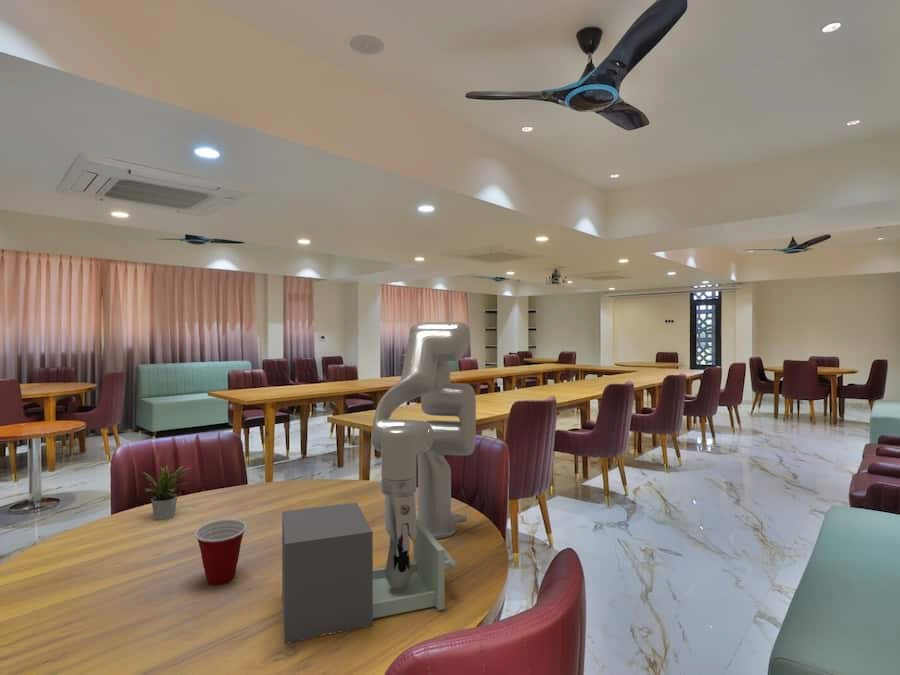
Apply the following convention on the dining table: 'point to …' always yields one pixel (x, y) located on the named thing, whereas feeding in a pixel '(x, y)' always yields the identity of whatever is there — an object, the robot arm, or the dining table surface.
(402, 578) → the salt shaker
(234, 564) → the plastic cup
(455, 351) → the robot arm
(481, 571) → the dining table surface
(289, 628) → the cabinet
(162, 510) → the house plant
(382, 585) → the drawer
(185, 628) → the dining table surface
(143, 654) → the dining table surface
